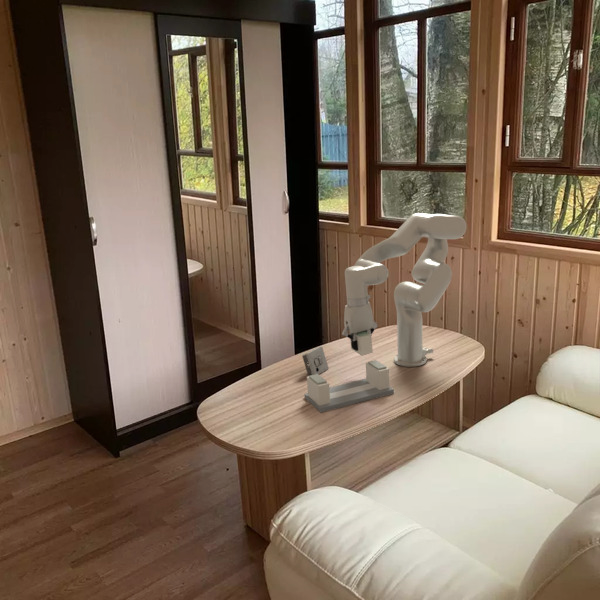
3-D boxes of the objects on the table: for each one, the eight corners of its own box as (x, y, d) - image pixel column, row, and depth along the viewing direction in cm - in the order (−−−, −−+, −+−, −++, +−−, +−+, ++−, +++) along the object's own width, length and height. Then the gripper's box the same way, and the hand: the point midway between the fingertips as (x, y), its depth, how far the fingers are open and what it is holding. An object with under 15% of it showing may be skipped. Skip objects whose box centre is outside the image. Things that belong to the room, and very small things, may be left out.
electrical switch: (314, 377, 226) (311, 354, 224) (303, 376, 229) (300, 352, 227) (329, 369, 233) (325, 346, 231) (318, 367, 236) (315, 345, 234)
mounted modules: (376, 378, 217) (375, 358, 215) (389, 387, 210) (389, 367, 207) (308, 395, 207) (306, 375, 205) (319, 405, 199) (318, 384, 197)
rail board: (374, 380, 220) (374, 376, 219) (393, 393, 208) (393, 389, 208) (304, 397, 209) (304, 393, 209) (320, 412, 198) (320, 408, 197)
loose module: (361, 345, 226) (360, 327, 224) (372, 352, 219) (371, 333, 216) (351, 348, 224) (349, 330, 222) (361, 355, 217) (360, 336, 215)
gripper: (372, 293, 222) (376, 339, 227) (331, 303, 216) (336, 350, 221) (383, 298, 215) (386, 345, 221) (341, 308, 209) (346, 357, 215)
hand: (361, 347), depth 221 cm, fingers closed on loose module, 4 cm apart
